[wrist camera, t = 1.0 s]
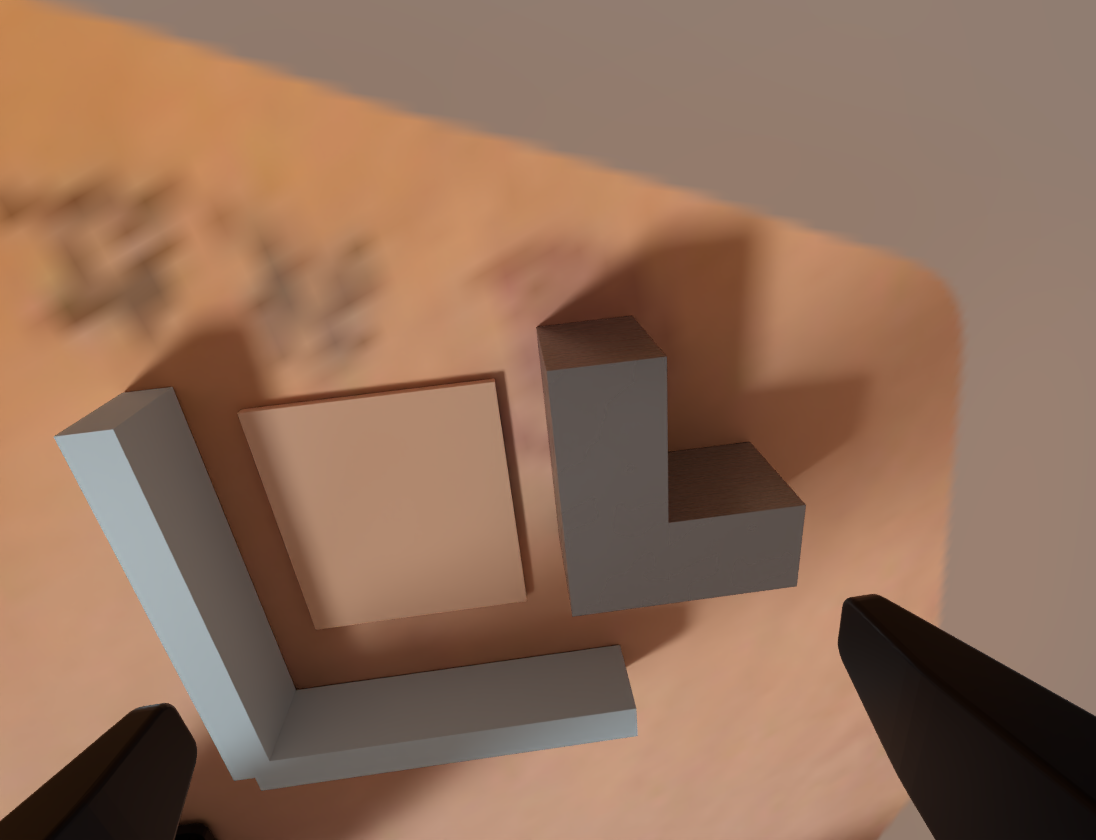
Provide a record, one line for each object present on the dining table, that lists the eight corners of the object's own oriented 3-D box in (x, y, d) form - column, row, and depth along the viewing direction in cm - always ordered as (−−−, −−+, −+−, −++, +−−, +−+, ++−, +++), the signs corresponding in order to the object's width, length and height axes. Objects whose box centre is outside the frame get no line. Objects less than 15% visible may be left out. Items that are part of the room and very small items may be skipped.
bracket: (745, 513, 21) (796, 586, 18) (559, 537, 21) (572, 616, 17) (758, 300, 18) (824, 337, 14) (536, 326, 18) (546, 371, 14)
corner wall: (621, 670, 24) (637, 735, 21) (270, 720, 24) (240, 793, 21) (601, 335, 18) (620, 367, 15) (122, 393, 17) (53, 436, 15)
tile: (526, 595, 22) (527, 601, 22) (318, 624, 22) (315, 629, 21) (494, 378, 18) (494, 381, 18) (240, 409, 18) (237, 413, 18)
